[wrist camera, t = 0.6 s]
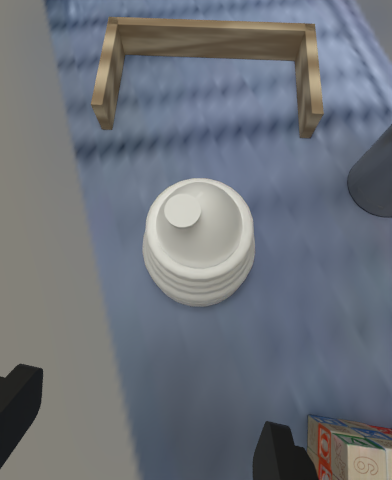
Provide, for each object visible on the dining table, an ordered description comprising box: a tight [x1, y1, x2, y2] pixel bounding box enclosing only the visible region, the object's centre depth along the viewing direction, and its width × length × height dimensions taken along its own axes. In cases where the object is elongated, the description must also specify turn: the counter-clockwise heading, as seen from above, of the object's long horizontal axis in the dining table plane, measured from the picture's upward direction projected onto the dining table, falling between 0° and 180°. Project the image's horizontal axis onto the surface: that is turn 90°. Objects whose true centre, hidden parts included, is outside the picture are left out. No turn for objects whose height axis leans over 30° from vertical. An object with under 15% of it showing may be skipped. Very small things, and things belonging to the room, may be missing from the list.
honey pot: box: [143, 178, 255, 307], centre depth 30 cm, size 13×13×18 cm
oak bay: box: [91, 17, 324, 138], centre depth 45 cm, size 16×31×5 cm, turn 87°
